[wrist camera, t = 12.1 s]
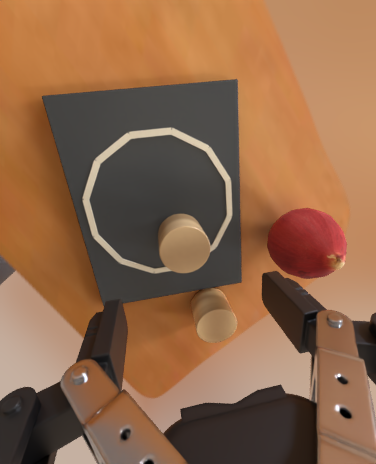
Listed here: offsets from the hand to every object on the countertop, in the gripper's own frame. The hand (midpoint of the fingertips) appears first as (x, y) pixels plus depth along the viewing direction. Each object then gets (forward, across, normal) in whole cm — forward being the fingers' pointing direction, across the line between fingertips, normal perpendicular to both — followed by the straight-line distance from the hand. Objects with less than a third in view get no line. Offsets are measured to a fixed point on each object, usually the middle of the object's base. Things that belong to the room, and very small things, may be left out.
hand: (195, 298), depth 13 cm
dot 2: (+10, -3, +8) cm, 13 cm away
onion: (+10, -11, +1) cm, 14 cm away
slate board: (+10, +1, -3) cm, 10 cm away
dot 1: (+9, 0, 0) cm, 9 cm away
